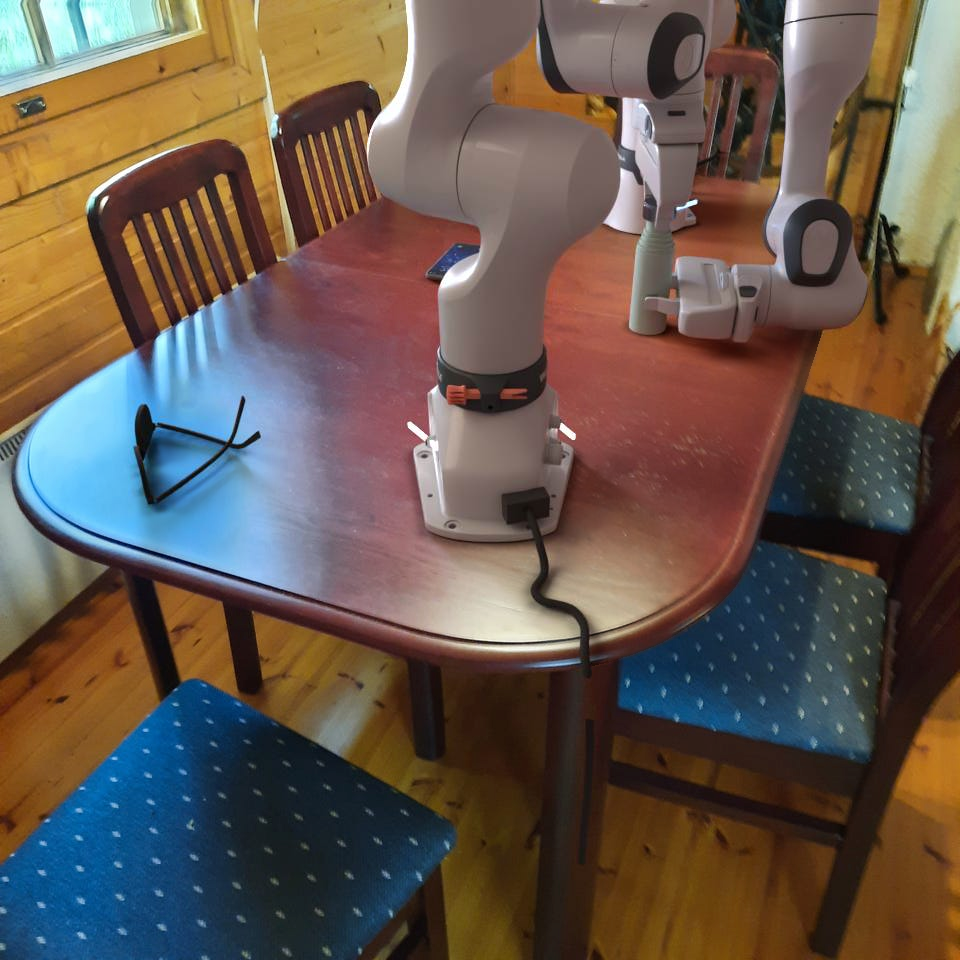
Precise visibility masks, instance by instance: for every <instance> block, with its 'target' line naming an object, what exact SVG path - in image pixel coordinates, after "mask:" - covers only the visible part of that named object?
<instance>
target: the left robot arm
mask: <svg viewBox="0 0 960 960" xmlns="http://www.w3.org/2000/svg"><path fill="white" fill-rule="evenodd" d="M639 4H640V5H642V6H637V5H635V6H629V5H615V4H602V3H599V2H597V1H594V0H405V10H406V19H407V20H406V21H407V32H408V38H407V39H408V40H407V41H408V47H407V56H406V57H407V59H406V64H405V70H404V73H403V77H402V81H401V83H400V86H399V88H398V90H397V93H396V94H395V96H394V97H393V99H392V100H391V101H390V102H389V103H388V104H387V105H386V106H385V107H384V108H383V109H381V111H379V114H378V115H377V116H376V118H375V120H374V122H373V124H372V126H371V129H370V132H369V134H368V139H367V146H366V159H367V160H366V161H367V166H368V172H369V175H370V177H371V180H372V183H373V186H374V187H375V189H376V190H377V191H378V192H379V194H380V195H382V197H384V198H386V199H388V200H390V201H392V202H394V203H396V204H398V205H400V206H402V207H404V208H406V209H408V210H411V211H413V212H414V213H417V214H419V215H421V216H426V217H427V216H428V217H432V218H438V219H442V220H447V221H452V222H457V223H461V224H467V225H471V226H474V227H477V228H478V231H479V234H480V235H479V236H480V245H479V246H480V252H479V253H477V254H474V255H471V256H469V257H467V258H465V259H463V260H461V261H459V262H457V263H456V264H455V265H453V266H452V267H451V268H450V269H449V270H448V271H447V273H446V274H445V276H444V277H443V279H442V281H440V284H439V286H438V290H437V307H438V324H439V326H438V327H439V340H440V341H439V342H440V343H439V344H440V345H439V346H438V348H437V354H436V356H437V358H436V363H435V364H436V376H437V384H436V385H435V387H434V386H433V388H432V389H431V390H430V391H428V392H427V406H428V407H427V409H428V424H429V435H427V434H425V433H424V432H423V431H422V430H421V429H420V428H419V427H418V426H416V425H415V424H413V423H412V422H411V421H409V422H407V427H408V429H410V430H411V431H412V432H413V433H414V434H416V435H417V436H418V437H419V438H420V439H422V440H423V441H424V442H422V443H419V444H417V445H416V446H415V447H414V448H413V454H412V455H413V457H412V458H413V464H414V470H415V475H416V476H415V477H416V480H417V487H418V492H419V498H420V499H419V500H420V503H421V504H420V505H421V510H422V516H423V522H424V526H425V529H426V530H427V531H428V532H429V533H432V534H434V535H437V536H440V537H443V538H448V539H452V540H457V541H466V542H477V543H478V542H480V543H500V542H501V543H502V542H503V543H506V542H518V541H527V540H531V539H533V541H534V544H535V548H536V552H537V555H538V559H539V566H540V570H539V575H538V577H536V579H535V580H534V581H533V583H532V585H530V595H531V597H532V599H533V600H534V601H535V602H536V603H537V604H539V605H541V606H543V607H546V608H551V609H556V610H560V611H564V612H566V613H568V614H570V615H571V616H572V617H573V618H574V619H575V621H576V623H578V626H579V635H580V636H579V658H580V659H579V660H580V669H581V674H582V676H583V678H585V679H591V677H592V674H593V673H592V665H591V657H590V656H591V655H590V642H591V641H590V638H591V637H590V635H591V634H590V626H589V623H588V621H587V618H586V617H585V616H586V615H584V613H583V612H582V611H581V610H580V609H579V608H578V607H577V606H575V605H574V604H572V603H570V602H567V601H563V600H558V599H553V598H550V597H546V596H545V595H542V594H541V591H540V590H541V588H542V586H543V585H544V584H545V582H546V580H547V579H548V578H549V577H548V576H549V573H550V572H549V571H550V564H549V557H548V553H547V550H546V546H545V543H544V539H543V536H546V535H548V534H550V533H552V532H554V531H556V530H557V527H558V525H559V520H560V518H561V517H560V516H561V512H562V508H563V504H564V500H565V497H566V492H567V488H568V483H569V480H570V476H571V472H572V469H573V468H572V467H573V464H574V459H575V450H574V447H573V446H571V445H570V444H568V443H566V442H563V441H561V439H560V438H558V430H560V431H561V432H562V433H564V434H565V435H566V436H567V437H569V438H570V439H571V440H572V441H573V440H576V433H574V432H573V431H572V430H571V429H569V428H568V427H567V426H566V425H565V424H563V423H562V416H559V392H557V391H556V390H555V389H554V388H553V387H552V386H551V385H550V384H549V383H548V382H547V379H548V367H549V361H548V356H547V355H548V354H547V353H548V351H547V347H546V345H545V344H544V332H545V331H544V330H545V329H544V328H545V314H546V303H547V295H548V288H549V285H550V281H551V279H552V275H553V273H554V271H555V269H556V267H557V265H558V264H559V262H560V261H561V259H562V257H563V256H564V255H565V254H566V253H567V252H568V251H569V250H570V249H571V248H572V247H573V246H574V245H576V244H577V243H579V242H581V240H584V239H585V238H587V237H589V236H590V235H591V234H593V233H595V232H596V231H597V229H599V228H600V227H601V226H602V224H604V223H603V222H604V221H605V220H606V218H607V217H608V216H609V214H610V212H611V210H612V209H613V207H614V205H615V202H616V199H617V196H618V193H619V188H620V181H621V169H620V161H619V157H618V153H617V152H618V149H617V147H616V145H615V143H614V140H613V139H612V138H611V136H610V134H609V133H608V132H607V131H606V130H605V129H604V128H601V127H599V126H596V125H595V124H594V125H593V124H592V123H589V122H586V121H584V120H582V119H579V118H576V117H573V116H571V115H568V114H565V113H562V112H560V111H559V112H558V111H551V110H545V109H544V110H543V109H536V108H529V107H523V106H522V107H521V106H512V105H506V104H500V103H498V102H497V101H496V100H495V98H494V92H493V80H494V74H495V71H496V70H498V69H499V68H501V67H504V66H505V65H506V64H508V63H509V62H511V61H513V60H514V59H515V58H517V57H519V55H521V54H522V53H523V52H524V51H525V50H526V49H527V48H528V46H529V45H530V44H531V42H532V41H533V39H534V37H535V35H536V47H535V48H536V62H537V65H538V68H539V69H538V70H539V71H540V73H541V76H542V77H543V78H544V80H545V81H546V83H547V84H548V86H549V87H550V88H551V89H552V90H553V91H554V92H556V93H557V94H560V95H564V94H565V95H594V96H595V95H596V96H604V97H612V98H620V99H622V98H633V102H632V115H631V125H632V127H634V128H635V129H637V130H638V134H637V142H636V151H635V159H636V164H637V166H638V167H639V169H640V171H641V173H642V175H643V182H644V200H645V199H646V198H649V197H653V196H654V197H655V199H656V201H657V205H658V206H657V213H656V214H655V221H654V225H655V228H656V230H658V231H666V230H668V229H669V226H670V218H671V216H672V213H673V211H674V208H675V207H684V206H686V204H687V203H688V202H690V198H691V195H692V191H693V186H694V180H695V174H696V170H697V167H696V164H697V162H698V158H699V144H698V143H703V142H704V141H705V137H706V130H707V129H706V128H707V126H706V121H705V117H704V106H705V105H704V104H705V103H704V99H705V92H706V77H705V65H706V61H707V59H708V56H709V53H710V52H709V50H710V44H711V36H712V26H713V9H714V0H643V1H642V2H640V3H639ZM584 723H585V724H584V737H585V738H584V739H585V743H584V746H585V747H584V778H583V791H582V793H583V794H582V805H581V816H580V823H579V824H580V825H579V835H578V836H579V837H578V846H577V848H578V849H577V865H579V866H584V865H585V864H586V860H587V859H586V858H587V845H588V833H589V825H590V816H591V806H592V797H593V787H594V786H593V785H594V769H595V719H592V718H585V719H584Z"/></svg>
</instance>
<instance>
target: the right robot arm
mask: <svg viewBox="0 0 960 960" xmlns="http://www.w3.org/2000/svg"><path fill="white" fill-rule="evenodd" d="M642 1H643V0H599V2H598V3H602V4H615V5H629V6H635V5H637V6H642V5H640V4H639V3H640V2H642ZM736 7H737V6H736V2H735V0H714V9H713V26H712V36H711V44H710V50H709V53H710V52H713V51H715V50H717V49H719V48H722V47H723V46H725V45H726V44H727V42H729V40H730V38H731V37H732V35H733V33H734V30H735V27H736V21H737V8H736ZM879 8H880V0H786V1H785V11H784V21H783V25H784V26H783V36H782V37H783V39H782V64H783V65H782V67H783V81H784V83H783V84H784V102H785V103H784V105H785V124H784V134H783V145H782V155H781V164H780V174H779V175H780V176H779V181H778V186H777V190H776V193H775V194H774V198H773V200H772V202H771V203H770V205H769V208H768V210H767V211H766V214H765V217H764V219H763V222H762V225H761V226H762V227H761V237H762V241H763V244H764V246H765V247H764V248H765V249H766V250H767V252H768V253H769V254H770V255H771V256H772V257H773V258H774V259H776V260H775V262H774V264H756V263H755V264H753V263H752V264H750V263H734V264H732V266H731V267H730V265H729V264H728V263H727V262H726V261H725V260H722V259H718V258H714V257H706V256H705V257H704V256H692V255H683V256H679V257H677V258H676V259H675V264H674V271H672V279H671V287H670V290H675V291H674V293H675V297H674V296H672V297H670V298H669V299H668V298H662V297H658V294H652V295H651V294H647V295H646V296H645V309H646V310H657V311H659V312H662V313H665V314H667V316H677V326H678V332H679V333H680V334H682V335H683V336H686V337H689V338H694V339H705V340H706V339H707V340H727V339H730V338H731V341H732V342H734V343H747V342H748V341H749V340H750V338H751V335H752V334H753V332H754V330H755V329H768V328H771V327H782V328H785V329H789V330H793V331H794V330H795V331H827V330H837V329H843V328H845V327H847V326H850V325H851V324H852V323H853V322H854V321H855V320H856V319H857V318H858V316H860V314H861V312H862V311H863V309H864V306H865V303H866V301H867V297H868V289H869V278H868V276H867V274H866V273H865V272H864V271H863V269H862V267H861V264H860V261H859V258H858V256H857V252H856V247H855V239H854V224H853V219H852V217H851V215H850V214H849V212H848V210H847V209H846V208H845V206H843V205H842V204H840V203H839V202H837V201H835V200H833V199H829V198H828V196H827V192H826V180H827V173H828V165H829V157H830V151H831V150H830V149H831V141H832V136H833V129H834V126H835V124H836V123H835V122H836V121H837V117H838V115H839V114H840V111H841V109H842V108H843V106H844V105H845V103H846V101H847V100H848V99H849V97H850V96H851V95H852V93H854V91H855V90H856V89H857V87H858V86H859V85H860V84H861V83H862V81H863V80H864V78H865V77H866V75H867V71H868V68H869V64H870V62H871V57H872V54H873V50H874V46H875V41H876V35H877V30H878V29H877V27H878V20H879V17H878V16H879ZM621 101H622V123H621V139H620V140H621V141H620V142H619V143H618V148H617V153H618V157H619V161H620V169H621V181H620V188H619V193H618V196H617V199H616V202H615V205H614V207H613V209H612V210H611V212H610V214H609V216H608V217H607V218H606V220H605V221H604V222H603V223H602V224H603V225H607V226H609V227H611V228H613V229H615V230H618V231H621V232H624V233H627V234H628V233H629V234H634V235H635V234H636V235H642V232H643V231H644V228H645V227H646V223H647V220H645V219H644V218H643V216H642V213H643V205H644V182H643V175H642V173H641V171H640V169H639V167H638V166H637V164H636V159H635V151H636V142H637V134H638V130H637V129H635V128H634V127H632V125H631V115H632V102H633V98H621ZM720 152H721V151H720V147H717V146H716V147H715V148H714V151H713V154H712V155H711V156H708V157H706V158H703V159H701V160H697V164H696V168H698V167H700V166H702V165H705V164H708V163H710V162H711V161H713V160H715V159H716V158H717V157H718V154H720ZM697 204H698V199H694V200H691V201H688V203H687V204H686V206H684V207H677V212H676V217H675V219H674V220H673V221H671V222H670V229H671V233H673V232H675V231H678V230H680V229H682V228H684V227H689V226H694V225H696V224H697V217H696V216H695V214H694V213H693V211H692V210H691V209H690V207H691V206H694V205H697Z"/></svg>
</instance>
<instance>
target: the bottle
mask: <svg viewBox="0 0 960 960" xmlns="http://www.w3.org/2000/svg"><path fill="white" fill-rule="evenodd" d="M672 233H673V232H671V229H670V226H669V229H668V230H666V231H658V230H656V228H655V225H654V222H650V221H647V223H646V227H645V228H644V231H643V232H642V234H641V236H640V237H639V239H638V240H637V244H636V247H635V257H634V267H633V277H632V289H631V299H630V300H631V301H630V309H629V321H628V327H629V329H630V330H631V331H632V332H634V333H635V334H638V335H645V336H654V335H659V334H661V333H663V332H664V331H666V329H667V321H668V320H667V319H668V315H667V314H665V313H662V312H659V311H657V310H646V309H645V296H646V295H647V294H651V295H652V294H658V297H662V298H668V299H670V296H671V295H670V294H671V289H670V287H671V279H672V272H674V271H673V269H674V263H675V262H674V261H675V254H676V253H675V252H676V247H675V246H676V243H675V242H674V237H673V234H672Z"/></svg>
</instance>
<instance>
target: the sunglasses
mask: <svg viewBox="0 0 960 960" xmlns="http://www.w3.org/2000/svg"><path fill="white" fill-rule="evenodd" d="M245 404H246V398H245V396H244V395H241V396H240V401H239V405H238V408H237V409H238V410H237V413H236V417H235V421H234V425H233V429H232V432H231V435H230V437H229V439H228V440H227V441H226V440H223V439H220V438H217V437H214V436H211V435H208V434H204V433H201V432H198V431H195V430H192V429H188V428H184V427H180V426H176V425H172V424H169V423H164V422H159V421H157V422H153V418H152V414H151V411H150V408H149V406H148V404H146V403H142V404H140V405H139V406H138V409H137V411H136V413H135V418H134V436H135V444H136V445H133V447H132V448H133V452H134V455H135V460H136V463H137V467H138V471H139V475H140V479H141V485H142V489H143V493H144V497H145V500H146V503H147V505H148V506H151V505H154V504H155V501H156V503H157V504H160V503H162V501H164V500H165V499H167V498H168V497H170V496H171V495H172V494H174V493H175V492H177V491H178V490H179V489H181V488H182V487H184V486H185V485H187V484H188V483H189V482H191V481H192V480H193V479H194V478H196V477H197V476H198V475H200V474H202V473H203V472H204V471H205V470H206V469H208V467H210V466H211V465H212V464H213V463H215V462H216V461H217V460H218V459H220V457H222V455H223V454H224V453H225V452H226V451H228V449H229V448H231V449H233V450H242V449H246V448H247V447H249V446H250V445H252V444H254V443H255V442H256V441H258V440H260V439H261V438H262V435H261V432H260V430H256V431H255V432H254V433H253V434H252V435H250V436H249V437H248V438H247V439H246V440H245V441H244V442H241V443H233V442H234V441H235V438H236V435H237V434H238V429H239V426H240V423H241V419H242V415H243V412H244V409H245ZM157 428H160V429H164V430H168V431H172V432H175V433H179V434H183V435H188V436H191V437H195V438H199V439H202V440H205V441H209V442H211V443H215V444H218V445H221V446H223V447H221V449H220V450H219V451H217V452H216V453H215V454H214V455H213V456H212V457H211V458H209V459H208V460H207V461H206V462H204V463H203V464H202V465H200V466H199V467H198V468H196V469H195V470H193V471H192V472H191V473H189V474H188V475H187V476H186V477H184V478H183V479H180V481H178V482H177V483H176V484H174V485H172V486H171V487H169V488H168V489H166V490H165V491H163V492H162V493H161V494H160V495H158V496H157V497H154V495H152V491H151V487H150V484H149V479H148V474H147V470H146V467H145V463H144V461H145V459H146V456H147V453H148V450H149V448H150V445H151V442H152V438H153V435H154V432H155V430H157Z"/></svg>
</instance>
